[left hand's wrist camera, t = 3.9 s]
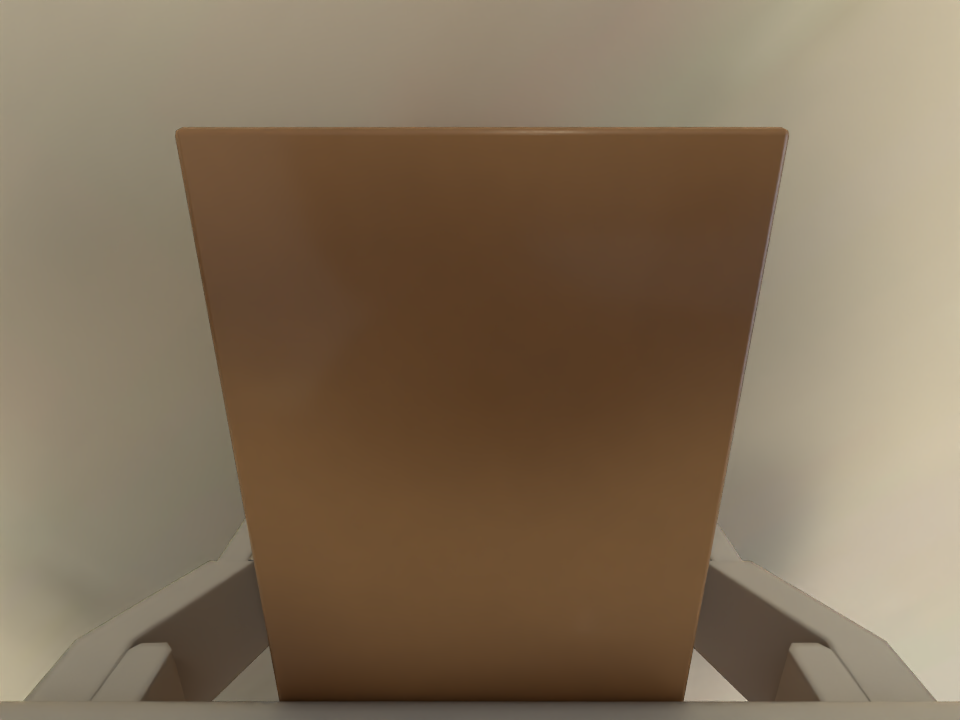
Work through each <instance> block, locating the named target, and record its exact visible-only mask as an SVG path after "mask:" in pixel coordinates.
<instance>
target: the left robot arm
mask: <svg viewBox="0 0 960 720" xmlns="http://www.w3.org/2000/svg"><path fill="white" fill-rule="evenodd" d="M268 646H269V642H268V636H267V631H266V625H265V620H264V614H263V609H262V604H261V598H260V593H259V587H258V582H257V576H256V571H255V566H254V560H253V555H252V549H251V544H250V539H249V533H248V528H247V522H246V518H245V520H244V521H243V523H242V524H241V526H240V527H239V529H238V530H237V532H236V533H235V535H234V536H233V538H232V539H231V541H230V542H229V544H228V545H227V547H226V548H225V550H224V551H223V553H222V554H221V556H220V557H219V559H218V560H217V561H208V562H207V563H205V564H203V565H202V566H200V567H198V568H197V569H195V570H193V571H191V572H190V573H188V574H186V575H185V576H183V577H181V578H180V579H178V580H176V581H175V582H173V583H171V584H169V585H168V586H166V587H164V588H163V589H161V590H159V591H158V592H156V593H154V594H153V595H151V596H149V597H147V598H146V599H144V600H142V601H141V602H139V603H137V604H136V605H134V606H132V607H131V608H129V609H127V610H125V611H124V612H122V613H120V614H119V615H117V616H115V617H114V618H112V619H110V620H109V621H107V622H105V623H103V624H102V625H100V626H98V627H97V628H95V629H93V630H92V631H90V632H88V633H87V634H85V635H83V636H81V637H80V638H78V639H76V640H75V641H74V642H73V643H72V644H71V646H70V647H69V648H68V649H67V650H66V651H65V653H64V654H63V655H62V656H61V657H60V658H59V660H58V661H57V662H56V663H55V664H54V666H53V667H52V668H51V669H50V670H49V671H48V673H47V674H46V675H45V676H44V677H43V678H42V680H41V681H40V682H39V683H38V684H37V686H36V687H35V688H34V689H33V690H32V691H31V693H30V694H29V695H28V696H27V697H26V698H25V700H24V701H0V720H960V701H942V702H937V701H936V699H935V698H934V697H933V696H932V695H931V694H930V692H929V691H928V690H927V689H926V688H925V686H924V685H923V684H922V683H921V682H920V681H919V679H918V678H917V677H916V676H915V675H914V673H913V672H912V671H911V670H910V669H909V668H908V666H907V665H906V664H905V663H904V662H903V660H902V659H901V658H900V657H899V656H898V655H897V653H896V652H895V651H894V650H893V649H892V647H891V646H890V645H889V644H888V643H887V642H886V641H885V640H883V639H882V638H880V637H878V636H877V635H875V634H873V633H871V632H870V631H868V630H866V629H865V628H863V627H861V626H860V625H858V624H856V623H855V622H853V621H851V620H850V619H848V618H846V617H844V616H843V615H841V614H839V613H838V612H836V611H834V610H833V609H831V608H829V607H828V606H826V605H824V604H823V603H821V602H819V601H817V600H816V599H814V598H812V597H811V596H809V595H807V594H806V593H804V592H802V591H801V590H799V589H797V588H796V587H794V586H792V585H790V584H789V583H787V582H785V581H784V580H782V579H780V578H779V577H777V576H775V575H774V574H772V573H770V572H769V571H767V570H765V569H763V568H762V567H760V566H758V565H757V564H755V563H753V562H752V561H743V560H742V559H741V557H740V556H739V554H738V553H737V551H736V550H735V549H734V547H733V546H732V544H731V543H730V541H729V540H728V538H727V537H726V535H725V534H724V532H723V531H722V529H721V528H720V526H719V525H718V523H717V524H716V529H715V535H714V540H713V545H712V551H711V556H710V561H709V567H708V572H707V578H706V583H705V588H704V594H703V599H702V604H701V610H700V615H699V620H698V626H697V631H696V636H695V642H694V647H693V648H694V649H695V650H697V651H698V652H699V653H700V654H701V655H702V656H703V657H704V658H705V659H706V660H707V661H708V662H709V663H710V664H711V665H712V666H713V667H714V668H715V669H716V670H717V671H718V672H719V673H720V674H721V675H722V676H723V677H724V678H725V679H726V680H727V681H728V682H729V683H730V684H731V685H732V686H733V687H734V688H735V689H737V690H738V691H739V692H740V693H741V694H742V695H743V696H744V697H745V698H746V699H747V700H748V701H749V702H576V701H286V702H211V701H212V700H213V699H214V698H216V697H217V696H218V695H219V694H220V693H221V692H222V691H223V690H224V689H225V688H226V687H227V686H228V685H229V684H230V683H231V682H232V681H233V680H234V679H235V678H236V677H237V676H238V675H239V674H240V673H241V672H242V671H243V670H244V669H245V668H246V667H247V666H248V665H249V664H251V663H252V662H253V661H254V660H255V659H256V658H257V657H258V656H259V655H260V654H261V653H262V652H263V651H264V650H265V649H266V648H267V647H268Z"/></svg>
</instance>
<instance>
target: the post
mask: <svg viewBox="0 0 960 720" xmlns="http://www.w3.org/2000/svg"><path fill="white" fill-rule="evenodd" d="M175 138H176V143H177V149H178V154H179V159H180V165H181V170H182V176H183V181H184V186H185V192H186V197H187V203H188V208H189V214H190V219H191V224H192V230H193V235H194V241H195V246H196V251H197V257H198V262H199V268H200V273H201V279H202V284H203V289H204V295H205V300H206V306H207V311H208V316H209V322H210V327H211V333H212V338H213V344H214V349H215V354H216V360H217V365H218V371H219V376H220V381H221V387H222V392H223V398H224V403H225V409H226V414H227V419H228V425H229V430H230V436H231V441H232V446H233V452H234V457H235V463H236V468H237V474H238V479H239V484H240V490H241V495H242V501H243V506H244V511H245V517H246V522H247V528H248V533H249V539H250V544H251V549H252V555H253V560H254V566H255V571H256V576H257V582H258V587H259V593H260V598H261V604H262V609H263V614H264V620H265V625H266V631H267V636H268V642H269V647H270V652H271V658H272V663H273V669H274V674H275V679H276V685H277V690H278V696H279V701H280V702H286V701H576V702H683V701H684V695H685V690H686V685H687V679H688V674H689V669H690V663H691V658H692V652H693V647H694V642H695V636H696V631H697V626H698V620H699V615H700V610H701V604H702V599H703V594H704V588H705V583H706V578H707V572H708V567H709V561H710V556H711V551H712V545H713V540H714V535H715V529H716V524H717V519H718V513H719V508H720V503H721V497H722V492H723V487H724V481H725V476H726V470H727V465H728V460H729V454H730V449H731V444H732V438H733V433H734V428H735V422H736V417H737V412H738V406H739V401H740V396H741V390H742V385H743V379H744V374H745V369H746V363H747V358H748V353H749V347H750V342H751V337H752V331H753V326H754V321H755V315H756V310H757V305H758V299H759V294H760V288H761V283H762V278H763V272H764V267H765V262H766V256H767V251H768V246H769V240H770V235H771V230H772V224H773V219H774V214H775V208H776V203H777V197H778V192H779V187H780V181H781V176H782V171H783V165H784V160H785V155H786V149H787V144H788V139H789V133H788V130H786V129H784V128H782V127H182V128H180V129H178V130H177V131H176V134H175Z"/></svg>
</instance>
